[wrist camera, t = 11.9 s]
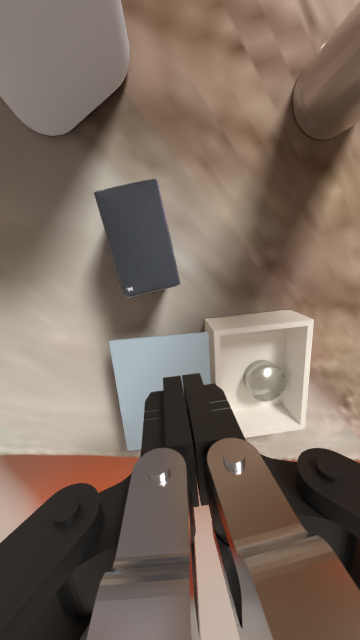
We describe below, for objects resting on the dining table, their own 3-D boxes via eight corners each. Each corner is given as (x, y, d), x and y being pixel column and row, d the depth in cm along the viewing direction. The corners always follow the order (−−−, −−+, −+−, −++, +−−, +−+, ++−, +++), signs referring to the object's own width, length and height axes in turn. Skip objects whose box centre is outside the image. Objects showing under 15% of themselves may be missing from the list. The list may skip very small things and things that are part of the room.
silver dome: (269, 353, 40) (278, 361, 37) (281, 380, 42) (291, 390, 39) (237, 370, 40) (243, 379, 38) (251, 397, 42) (258, 407, 39)
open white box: (289, 309, 39) (313, 319, 33) (284, 405, 44) (304, 428, 38) (204, 318, 38) (213, 330, 32) (209, 416, 43) (218, 441, 37)
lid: (108, 341, 31) (109, 340, 32) (127, 451, 36) (127, 448, 37) (208, 332, 32) (207, 331, 32) (213, 442, 37) (212, 439, 37)
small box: (174, 276, 35) (183, 286, 25) (131, 287, 35) (123, 301, 25) (156, 199, 32) (159, 175, 22) (108, 210, 32) (89, 191, 22)
